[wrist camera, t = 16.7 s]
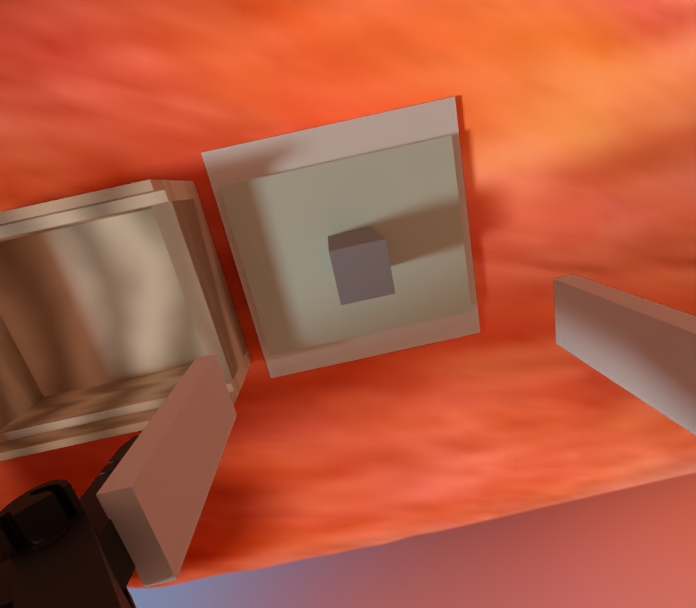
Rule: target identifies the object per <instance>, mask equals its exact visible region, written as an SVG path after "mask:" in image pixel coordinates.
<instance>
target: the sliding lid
mask: <svg viewBox="0 0 696 608" xmlns="http://www.w3.org/2000/svg"><path fill="white" fill-rule="evenodd" d="M219 188H220V191H221V195H222V198H223V201H224V205H225V208H226V211H227V215H228V218H229V221H230V225H231V228H232V231H233V235H234V238H235V241H236V244H237V248H238V251H239V254H240V258H241V261H242V264H243V268H244V271H245V274H246V278H247V281H248V284H249V287H250V291H251V294H252V297H253V301H254V304H255V307H256V311H257V314H258V317H259V321H260V324H261V327H262V330H263V334H264V337H265V340H266V344H267V347H268V350H269V354H270V355H275V354H280V353H284V352H289V351H293V350H298V349H303V348H307V347H312V346H316V345H321V344H325V343H330V342H335V341H339V340H344V339H348V338H353V337H357V336H362V335H367V334H371V333H376V332H380V331H385V330H389V329H394V328H399V327H403V326H408V325H412V324H417V323H421V322H426V321H431V320H435V319H440V318H444V317H449V316H453V315H458V314H463V313H467V312H472V310H471V301H470V292H469V284H468V275H467V266H466V257H465V249H464V240H463V231H462V222H461V214H460V205H459V196H458V187H457V178H456V170H455V161H454V152H453V143H452V135H450V136H446V137H441V138H437V139H432V140H428V141H423V142H419V143H414V144H410V145H405V146H401V147H396V148H392V149H387V150H383V151H378V152H373V153H369V154H364V155H360V156H355V157H351V158H346V159H342V160H337V161H333V162H328V163H324V164H319V165H315V166H310V167H306V168H301V169H297V170H292V171H288V172H283V173H279V174H274V175H270V176H265V177H260V178H256V179H251V180H247V181H242V182H238V183H233V184H229V185H224V186H220V187H219Z"/></svg>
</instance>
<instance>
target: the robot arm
mask: <svg viewBox="0 0 696 608" xmlns="http://www.w3.org/2000/svg"><path fill="white" fill-rule="evenodd" d="M553 283H554V306H555V329H556V344H557V345H559V346H560V347H562V348H563V349H565V350H566V351H568V352H569V353H571V354H572V355H574V356H575V357H577V358H578V359H580V360H581V361H583V362H584V363H586V364H587V365H589V366H591V367H592V368H594V369H595V370H597V371H598V372H600V373H601V374H603V375H604V376H606V377H607V378H609V379H610V380H612V381H613V382H615V383H616V384H618V385H619V386H621V387H622V388H624V389H625V390H627V391H628V392H630V393H632V394H633V395H635V396H636V397H638V398H639V399H641V400H642V401H644V402H645V403H647V404H648V405H650V406H651V407H653V408H654V409H656V410H657V411H659V412H660V413H662V414H663V415H665V416H666V417H668V418H669V419H671V420H672V421H674V422H676V423H677V424H679V425H680V426H682V427H683V428H685V429H686V430H688V431H689V432H691V433H692V434H694V435H695V436H696V316H694V315H691V314H689V313H686V312H683V311H680V310H677V309H674V308H671V307H668V306H665V305H662V304H659V303H656V302H653V301H650V300H647V299H644V298H641V297H638V296H636V295H633V294H630V293H627V292H624V291H621V290H618V289H615V288H612V287H609V286H606V285H603V284H600V283H597V282H594V281H591V280H588V279H585V278H583V277H580V276H577V275H574V274H572V275H567V276H563V277H558V278H554V279H553ZM236 417H237V414H236V411H235V408H234V405H233V402H232V400H231V397H230V394H229V391H228V388H227V385H226V382H225V380H224V377H223V374H222V371H221V368H220V365H219V362H218V360H217V357H216V354H213V355H209V356H204V357H200V358H196V359H195V360H194V361H193V363H192V364H191V365H190V367H189V368H188V370H187V371H186V372H185V374H184V375H183V376H182V378H181V379H180V380H179V382H178V383H177V385H176V386H175V387H174V389H173V390H172V391H171V393H170V394H169V395H168V397H167V398H166V400H165V401H164V402H163V404H162V405H161V406H160V408H159V409H158V411H157V412H156V413H155V415H154V416H153V417H152V419H151V420H150V421H149V423H148V424H147V426H146V427H145V428H144V430H143V431H142V432H141V434H140V435H137V436H134V437H133V438H131V439H130V440H129V441H128V442H127V443H125V444H124V445H123V446H122V447H121V448H119V449H118V451H117V452H116V453H115V455H114V456H113V457H112V458H111V460H110V461H109V462H108V463H109V464H108V465H106V466H105V467H104V469H103V470H102V471H101V473H100V476H98V477H97V478H96V479H95V480H94V482H93V483H92V484H91V486H90V487H89V488H88V489H87V491H86V492H85V493H84V495H83V496H82V497H81V499H80V500H79V499H78V497H77V496H76V494H75V492H74V490H73V488H72V486H71V485H70V483H69V482H68V481H66V480H55V481H51V482H48V483H44V484H42V485H40V486H38V487H35V488H33V489H31V490H29V491H28V492H26V493H24V494H23V495H21V496H19V497H18V498H16V499H15V500H14V501H12V502H11V503H10V504H9V505H7V506H6V507H5V508H4V509H2V510H1V512H0V608H136V606H135V604H134V602H133V599H132V597H131V595H130V593H129V592H128V589H127V587H126V586H127V584H128V582H129V580H130V578H131V576H132V573H133V571H134V569H135V570H136V572H137V574H138V576H139V578H140V580H141V582H142V584H143V586H144V587H148V586H152V585H156V584H161V583H165V582H170V581H174V580H177V578H178V575H179V572H180V569H181V567H182V564H183V561H184V558H185V556H186V553H187V550H188V548H189V545H190V542H191V539H192V537H193V534H194V531H195V528H196V526H197V523H198V520H199V518H200V515H201V512H202V509H203V507H204V504H205V501H206V498H207V496H208V493H209V490H210V488H211V485H212V482H213V479H214V477H215V474H216V471H217V469H218V466H219V463H220V460H221V458H222V455H223V452H224V449H225V447H226V444H227V441H228V439H229V436H230V433H231V430H232V428H233V425H234V422H235V419H236Z"/></svg>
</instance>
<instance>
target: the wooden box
mask: <svg viewBox="0 0 696 608" xmlns="http://www.w3.org/2000/svg"><path fill="white" fill-rule="evenodd" d="M213 354H216V357H217V360H218V362H219V365H220V368H221V371H222V374H223V377H224V380H225V382H226V385H227V388H228V391H229V394H230V397H231V400H232V402H233V405H234V404H235V402H236V399H237V397H238V395H239V392H240V390H241V387H242V385H243V382H244V380H245V377H246V375H247V373H248V370H249V368H250V365H251V363H252V360H251V357H250V354H249V351H248V348H247V345H246V342H245V339H244V335H243V332H242V329H241V326H240V323H239V320H238V317H237V314H236V311H235V307H234V304H233V301H232V298H231V295H230V292H229V289H228V286H227V282H226V279H225V276H224V273H223V270H222V267H221V264H220V261H219V258H218V254H217V251H216V248H215V245H214V242H213V239H212V236H211V233H210V229H209V226H208V223H207V220H206V217H205V214H204V211H203V208H202V205H201V201H200V198H199V195H198V192H197V189H196V186H195V183H194V181H181V180H156V179H149V180H144V181H140V182H135V183H131V184H126V185H122V186H117V187H113V188H108V189H104V190H99V191H95V192H90V193H86V194H81V195H77V196H72V197H67V198H63V199H58V200H54V201H49V202H45V203H40V204H36V205H31V206H27V207H22V208H18V209H13V210H9V211H4V212H0V461H3V460H8V459H12V458H17V457H21V456H26V455H31V454H35V453H40V452H44V451H49V450H54V449H58V448H63V447H67V446H72V445H76V444H81V443H86V442H90V441H95V440H99V439H104V438H109V437H113V436H118V435H122V434H127V433H132V432H136V431H141V430H144V428H145V427H146V426H147V424H148V423H149V421H150V420H151V419H152V417H153V416H154V415H155V413H156V412H157V411H158V409H159V408H160V406H161V405H162V404H163V402H164V401H165V400H166V398H167V397H168V395H169V394H170V393H171V391H172V390H173V389H174V387H175V386H176V385H177V383H178V382H179V380H180V379H181V378H182V376H183V375H184V374H185V372H186V371H187V370H188V368H189V367H190V365H191V364H192V363H193V361H194V360H195V359H196V358H200V357H204V356H209V355H213Z"/></svg>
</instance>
